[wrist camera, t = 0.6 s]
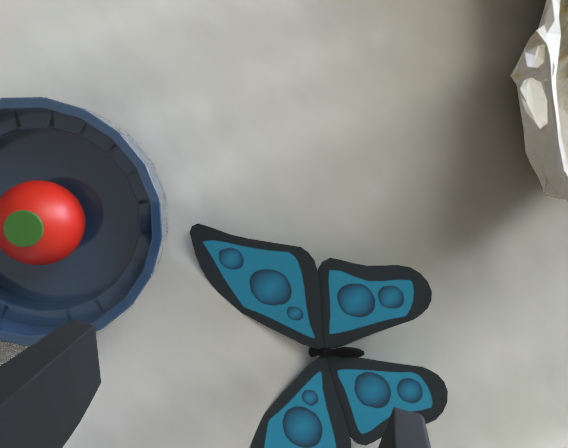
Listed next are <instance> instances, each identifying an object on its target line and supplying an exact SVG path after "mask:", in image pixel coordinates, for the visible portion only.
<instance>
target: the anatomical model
mask: <svg viewBox="0 0 568 448" xmlns="http://www.w3.org/2000/svg"><path fill="white" fill-rule="evenodd" d="M566 5H567V7H566V9H565V6H566ZM510 77H511V78H512V79H513V80H514V82H515V83H516V84H517V90H518V98H519V105H520V111H521V117H522V123H523V130H524V141H525V151H526V154H527V157H528V159H529V162H530V164H531V166H532V167H533V169H534V171H535V173H536V174H537V176H538V178H539V180H540V183H541V186H542V188H543V191H544V194H545V195H547V196H551V197H556V198H560V199H566V200H568V0H546V3H545V7H544V11H543V14H542V17H541V21H540V24H539V27H538V29H537V30H536V31H535V33H534V34H533V35H532V36H531V38H530V39H529V40H528V42H527V45H526V47H525V49H524V51H523V53H522V55H521V57H520V59H519V61H518V63H517V65H516V67H515V69H514V70H513V72H512V74H511V75H510Z"/></svg>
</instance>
